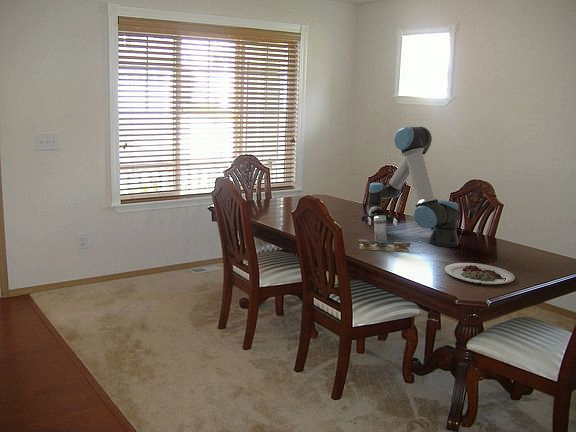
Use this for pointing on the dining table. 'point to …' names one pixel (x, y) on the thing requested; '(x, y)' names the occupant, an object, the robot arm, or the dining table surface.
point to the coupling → (380, 231)
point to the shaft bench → (396, 247)
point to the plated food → (479, 273)
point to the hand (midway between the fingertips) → (383, 222)
